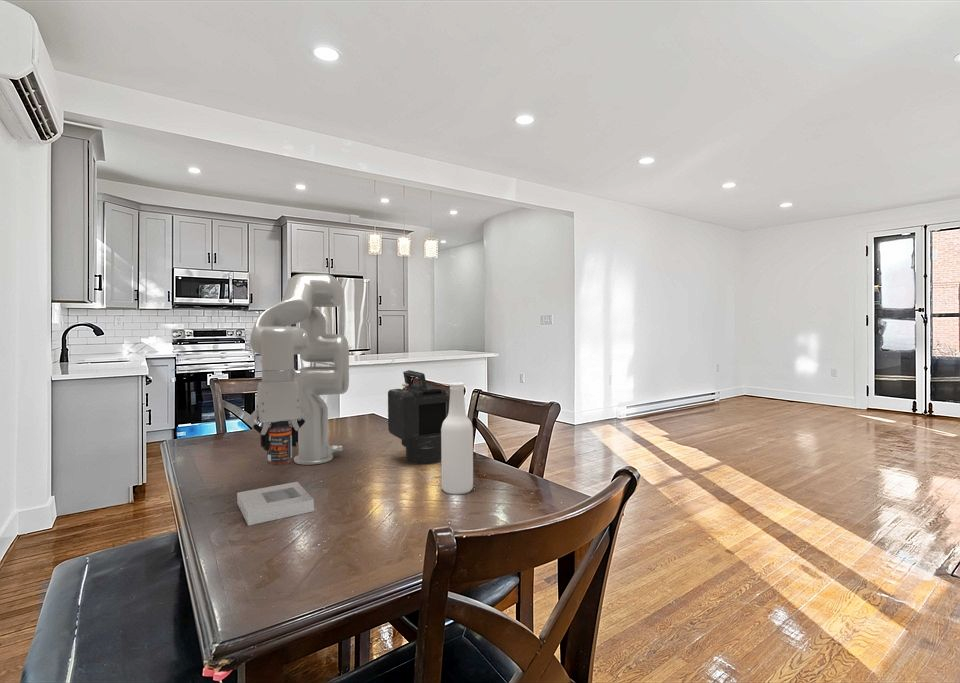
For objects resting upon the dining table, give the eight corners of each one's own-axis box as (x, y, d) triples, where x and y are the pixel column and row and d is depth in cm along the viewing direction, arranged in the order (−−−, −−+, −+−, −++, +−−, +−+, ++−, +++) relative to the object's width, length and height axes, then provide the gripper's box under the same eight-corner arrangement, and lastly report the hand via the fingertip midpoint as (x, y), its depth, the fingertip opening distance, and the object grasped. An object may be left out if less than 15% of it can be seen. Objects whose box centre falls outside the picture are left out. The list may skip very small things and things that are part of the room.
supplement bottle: (268, 467, 121) (267, 421, 120) (266, 461, 126) (265, 417, 126) (294, 464, 124) (293, 419, 123) (291, 458, 129) (290, 415, 128)
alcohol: (435, 490, 137) (434, 383, 135) (455, 482, 144) (455, 380, 142) (459, 497, 131) (458, 385, 130) (479, 488, 138) (479, 382, 137)
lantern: (454, 460, 165) (453, 371, 164) (405, 469, 156) (404, 375, 154) (434, 450, 178) (433, 367, 176) (387, 458, 168) (386, 370, 167)
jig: (297, 492, 136) (297, 481, 135) (313, 511, 122) (313, 499, 122) (237, 504, 127) (237, 492, 127) (248, 525, 114) (247, 513, 114)
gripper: (309, 373, 132) (310, 439, 133) (238, 377, 122) (240, 449, 123) (317, 375, 126) (318, 445, 127) (243, 380, 116) (245, 456, 117)
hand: (279, 446), depth 125 cm, fingers closed on supplement bottle, 5 cm apart
